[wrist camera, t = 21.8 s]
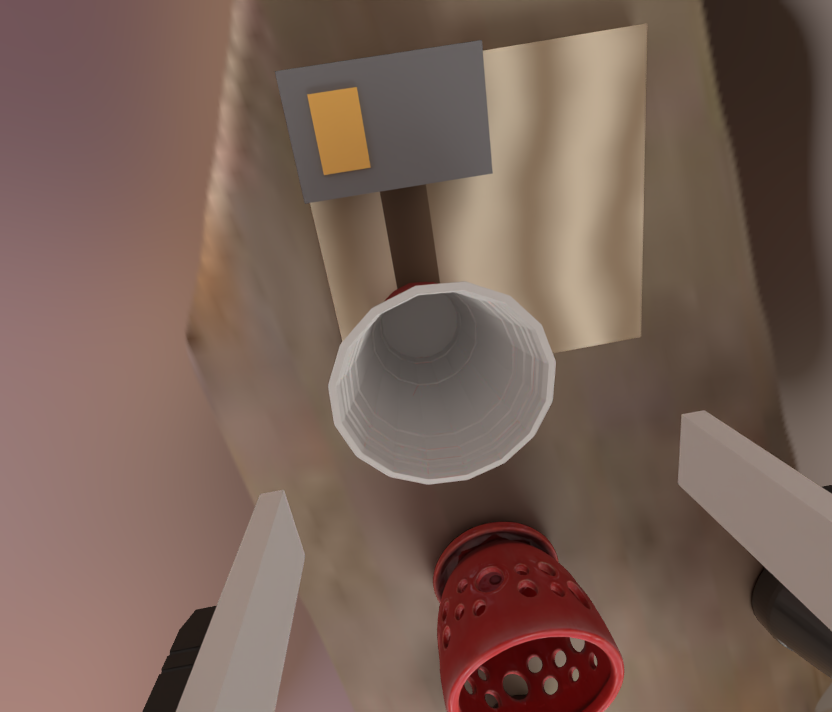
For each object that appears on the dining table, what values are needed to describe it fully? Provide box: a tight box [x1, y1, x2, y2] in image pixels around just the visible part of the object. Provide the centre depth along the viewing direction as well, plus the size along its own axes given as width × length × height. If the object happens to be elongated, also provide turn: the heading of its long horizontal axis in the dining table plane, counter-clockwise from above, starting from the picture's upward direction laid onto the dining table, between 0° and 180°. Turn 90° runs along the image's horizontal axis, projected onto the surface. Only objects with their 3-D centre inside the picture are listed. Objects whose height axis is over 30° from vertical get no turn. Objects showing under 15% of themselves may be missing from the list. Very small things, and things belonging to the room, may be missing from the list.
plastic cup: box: [328, 281, 556, 485], centre depth 26 cm, size 11×11×12 cm
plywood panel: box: [310, 23, 647, 353], centre depth 31 cm, size 22×20×2 cm
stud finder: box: [275, 40, 493, 204], centre depth 25 cm, size 10×6×6 cm, turn 98°
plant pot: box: [433, 522, 624, 712], centre depth 37 cm, size 13×13×12 cm
